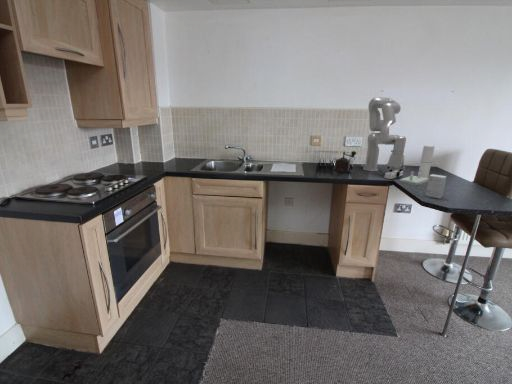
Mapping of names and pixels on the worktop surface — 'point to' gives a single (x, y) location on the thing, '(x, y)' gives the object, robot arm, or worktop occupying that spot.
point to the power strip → (392, 174)
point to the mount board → (414, 179)
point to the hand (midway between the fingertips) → (393, 175)
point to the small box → (436, 186)
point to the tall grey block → (426, 160)
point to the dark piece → (343, 163)
